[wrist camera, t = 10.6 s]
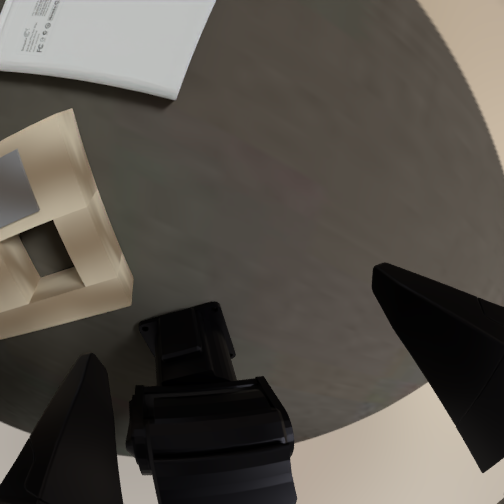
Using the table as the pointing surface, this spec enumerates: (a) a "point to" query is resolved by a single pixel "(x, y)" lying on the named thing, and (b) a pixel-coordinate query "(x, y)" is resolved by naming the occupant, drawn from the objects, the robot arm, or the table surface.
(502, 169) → the table surface
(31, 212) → the socket block
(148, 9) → the external hard drive
